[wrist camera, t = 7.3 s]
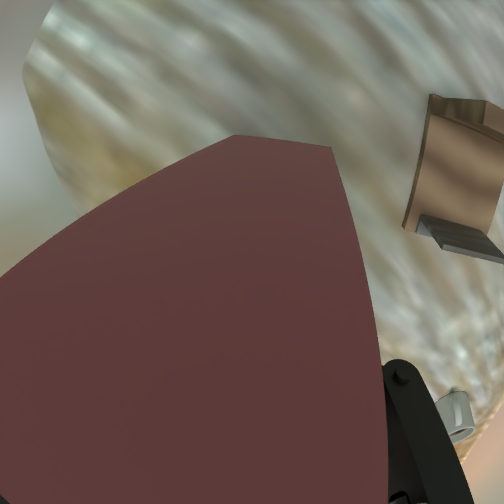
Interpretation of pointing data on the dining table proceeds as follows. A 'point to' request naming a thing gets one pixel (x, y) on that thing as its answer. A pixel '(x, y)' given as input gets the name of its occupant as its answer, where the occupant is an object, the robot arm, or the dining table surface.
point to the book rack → (459, 176)
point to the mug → (456, 416)
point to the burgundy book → (198, 343)
